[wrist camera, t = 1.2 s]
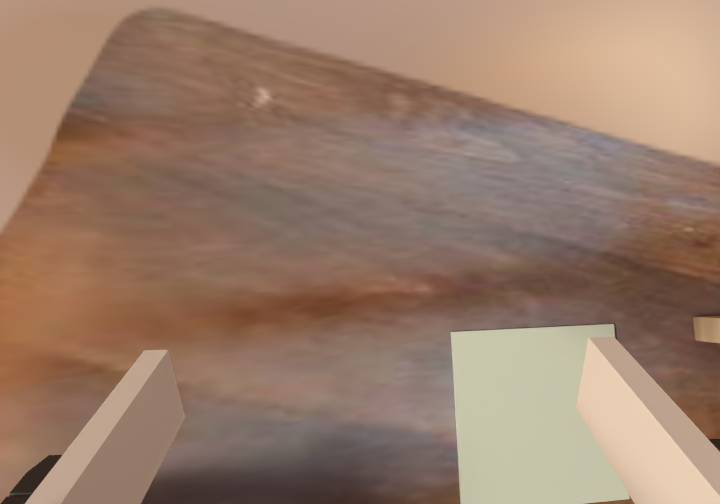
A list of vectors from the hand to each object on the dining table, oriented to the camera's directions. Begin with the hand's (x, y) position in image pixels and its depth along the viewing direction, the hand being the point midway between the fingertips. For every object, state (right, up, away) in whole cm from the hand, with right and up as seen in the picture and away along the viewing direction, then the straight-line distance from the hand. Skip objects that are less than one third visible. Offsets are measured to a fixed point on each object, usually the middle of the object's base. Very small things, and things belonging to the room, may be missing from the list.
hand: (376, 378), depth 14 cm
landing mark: (+14, -9, +22) cm, 27 cm away
